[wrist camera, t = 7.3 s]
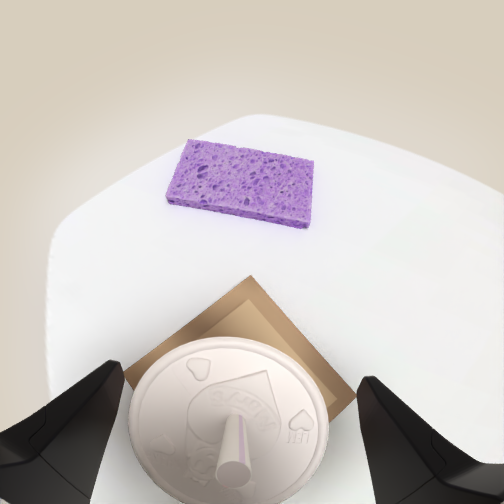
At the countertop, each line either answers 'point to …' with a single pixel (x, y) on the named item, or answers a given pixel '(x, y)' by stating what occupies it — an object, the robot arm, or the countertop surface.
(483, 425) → the countertop surface
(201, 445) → the smoothie
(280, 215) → the sponges
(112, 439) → the countertop surface
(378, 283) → the countertop surface
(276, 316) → the walnut base
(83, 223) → the countertop surface
